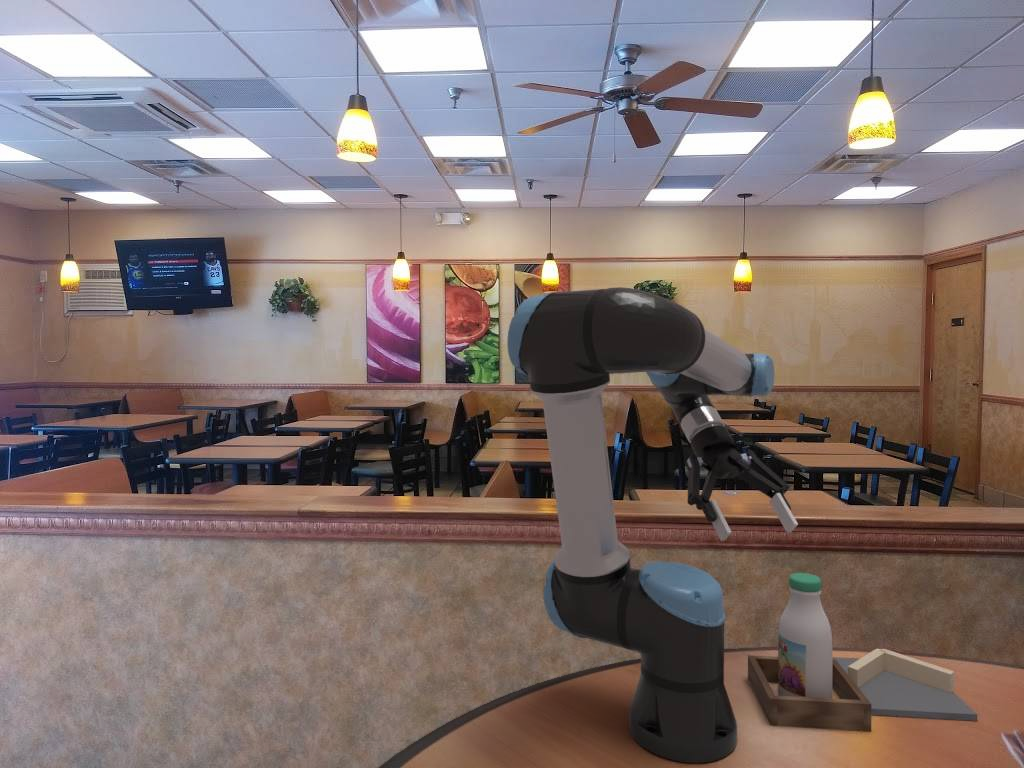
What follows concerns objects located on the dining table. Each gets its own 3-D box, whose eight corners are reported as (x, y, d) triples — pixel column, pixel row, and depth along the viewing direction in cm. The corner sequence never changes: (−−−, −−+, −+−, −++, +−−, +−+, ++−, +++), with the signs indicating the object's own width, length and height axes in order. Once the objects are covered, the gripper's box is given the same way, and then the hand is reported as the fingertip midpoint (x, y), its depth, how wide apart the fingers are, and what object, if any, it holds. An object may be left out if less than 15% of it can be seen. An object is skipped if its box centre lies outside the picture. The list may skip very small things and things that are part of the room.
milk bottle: (821, 691, 104) (821, 569, 103) (840, 717, 96) (841, 585, 96) (771, 689, 105) (771, 568, 104) (787, 715, 97) (787, 584, 96)
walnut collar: (769, 725, 94) (769, 698, 94) (747, 678, 108) (747, 655, 108) (871, 731, 93) (871, 704, 92) (835, 683, 106) (835, 659, 106)
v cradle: (866, 714, 97) (866, 688, 97) (826, 662, 114) (826, 640, 114) (980, 721, 95) (980, 694, 95) (922, 666, 112) (922, 644, 112)
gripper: (753, 443, 130) (807, 536, 117) (643, 451, 123) (688, 551, 109) (771, 420, 125) (830, 514, 111) (657, 426, 118) (706, 528, 104)
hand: (760, 532), depth 110 cm, fingers open, 13 cm apart
